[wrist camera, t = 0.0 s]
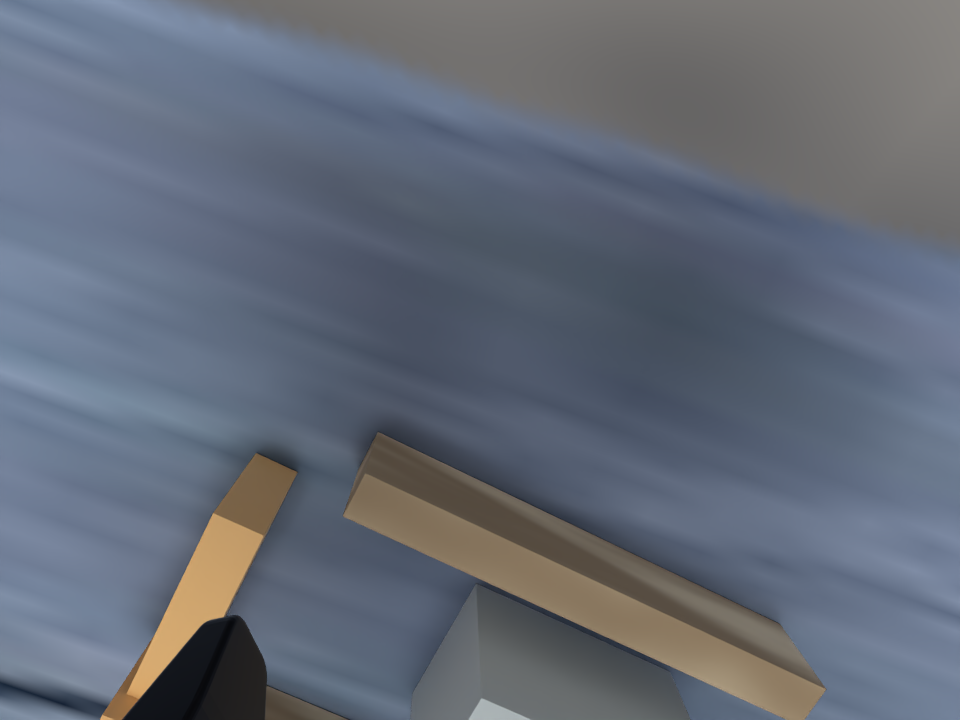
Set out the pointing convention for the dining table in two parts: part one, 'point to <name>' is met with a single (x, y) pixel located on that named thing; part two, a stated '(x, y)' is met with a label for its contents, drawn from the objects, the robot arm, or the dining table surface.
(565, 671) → the plug block
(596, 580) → the channel
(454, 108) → the dining table surface
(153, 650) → the bar
